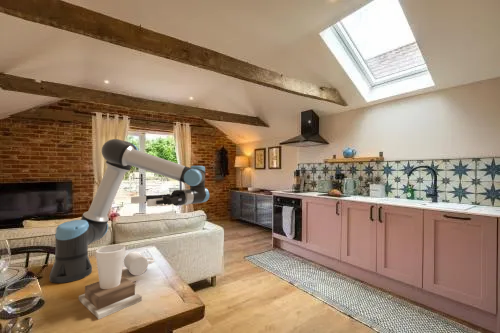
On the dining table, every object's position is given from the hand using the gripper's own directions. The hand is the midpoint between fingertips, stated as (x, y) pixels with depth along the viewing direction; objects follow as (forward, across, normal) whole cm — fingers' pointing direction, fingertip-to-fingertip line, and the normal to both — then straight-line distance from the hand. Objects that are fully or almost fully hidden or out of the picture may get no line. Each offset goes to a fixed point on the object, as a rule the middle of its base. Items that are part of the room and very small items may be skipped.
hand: (139, 201), depth 100 cm
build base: (+13, -5, -34) cm, 37 cm away
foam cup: (+13, -5, -29) cm, 32 cm away
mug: (-7, +12, -34) cm, 37 cm away
